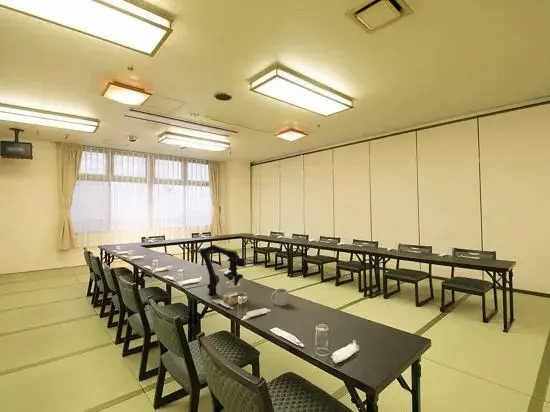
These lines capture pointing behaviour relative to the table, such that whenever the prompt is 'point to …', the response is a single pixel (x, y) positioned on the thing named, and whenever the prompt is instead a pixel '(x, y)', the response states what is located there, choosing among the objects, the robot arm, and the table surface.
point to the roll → (232, 284)
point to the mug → (280, 297)
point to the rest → (231, 294)
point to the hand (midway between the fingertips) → (233, 285)
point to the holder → (233, 298)
